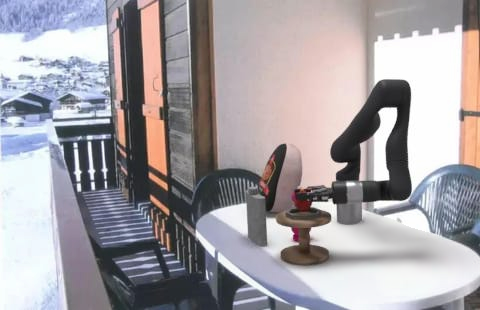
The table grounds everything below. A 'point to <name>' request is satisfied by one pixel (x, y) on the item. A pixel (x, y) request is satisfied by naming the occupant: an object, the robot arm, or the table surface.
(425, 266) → the table surface
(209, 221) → the table surface
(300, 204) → the onion
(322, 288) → the table surface
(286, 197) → the packaged food
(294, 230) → the pepper mill
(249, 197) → the hip flask
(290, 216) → the ring stand
